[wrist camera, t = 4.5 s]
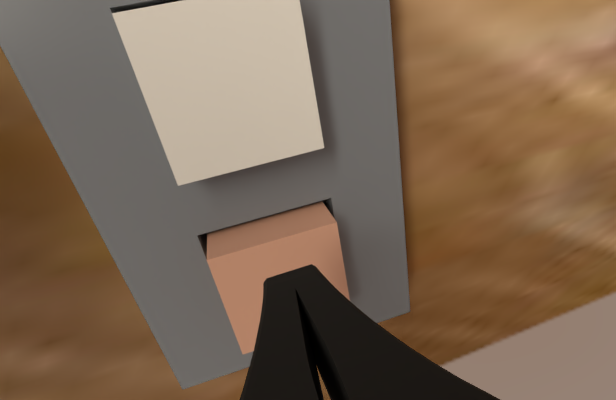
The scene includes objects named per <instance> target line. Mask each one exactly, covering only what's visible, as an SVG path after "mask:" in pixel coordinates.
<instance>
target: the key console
mask: <svg viewBox="0 0 616 400" xmlns="http://www.w3.org/2000/svg"><path fill="white" fill-rule="evenodd" d="M176 1H182V0H0V46H1V48H2V50H3V52H4V54H5V56H6V57H7V59H8V61H9V63H10V65H11V67H12V69H13V71H14V73H15V74H16V76H17V78H18V80H19V82H20V84H21V86H22V88H23V90H24V91H25V93H26V95H27V97H28V99H29V101H30V103H31V105H32V106H33V108H34V110H35V112H36V114H37V116H38V118H39V120H40V122H41V123H42V125H43V127H44V129H45V131H46V133H47V135H48V137H49V139H50V140H51V142H52V144H53V146H54V148H55V150H56V152H57V154H58V156H59V157H60V159H61V161H62V163H63V165H64V167H65V169H66V171H67V172H68V174H69V176H70V178H71V180H72V182H73V184H74V186H75V188H76V189H77V191H78V193H79V195H80V197H81V199H82V201H83V203H84V205H85V206H86V208H87V210H88V212H89V214H90V216H91V218H92V220H93V222H94V223H95V225H96V227H97V229H98V231H99V233H100V235H101V237H102V238H103V240H104V242H105V244H106V246H107V248H108V250H109V252H110V254H111V255H112V257H113V259H114V261H115V263H116V265H117V267H118V269H119V271H120V272H121V274H122V276H123V278H124V280H125V282H126V284H127V286H128V288H129V289H130V291H131V293H132V295H133V297H134V299H135V301H136V303H137V304H138V306H139V308H140V310H141V312H142V314H143V316H144V318H145V320H146V321H147V323H148V325H149V327H150V329H151V331H152V333H153V335H154V337H155V338H156V340H157V342H158V344H159V346H160V348H161V350H162V352H163V353H164V355H165V357H166V359H167V361H168V363H169V365H170V367H171V369H172V370H173V372H174V374H175V376H176V378H177V380H178V382H179V384H180V386H181V387H182V389H186V388H189V387H192V386H194V385H197V384H200V383H203V382H206V381H209V380H212V379H215V378H218V377H221V376H224V375H227V374H230V373H232V372H235V371H238V370H241V369H244V368H247V367H249V366H250V362H251V359H252V355H253V351H252V352H249V353H246V354H242V351H241V349H240V346H239V343H238V341H237V338H236V336H235V333H234V330H233V328H232V325H231V323H230V320H229V317H228V315H227V312H226V310H225V307H224V304H223V302H222V299H221V297H220V294H219V291H218V289H217V286H216V284H215V281H214V278H213V276H212V273H211V271H210V268H209V265H208V263H207V234H208V233H211V232H215V231H218V230H222V229H226V228H229V227H233V226H236V225H240V224H243V223H247V222H250V221H254V220H258V219H261V218H265V217H268V216H272V215H275V214H279V213H282V212H286V211H290V210H293V209H297V208H300V207H304V206H307V205H311V204H314V203H318V202H321V201H322V202H323V203H324V205H325V206H326V207H327V209H328V210H329V212H330V213H331V215H332V216H333V217H334V219H335V220H336V222H337V226H338V232H339V238H340V244H341V250H342V256H343V262H344V268H345V274H346V280H347V286H348V292H349V298H350V302H352V303H353V304H354V305H355V306H356V307H357V308H359V309H360V310H361V311H362V312H363V313H364V314H366V315H367V316H368V317H369V318H371V319H372V320H373V321H374V322H376V323H379V322H381V321H384V320H387V319H390V318H393V317H396V316H399V315H402V314H405V313H408V312H410V301H409V286H408V271H407V256H406V241H405V226H404V211H403V196H402V181H401V166H400V151H399V136H398V121H397V106H396V91H395V76H394V61H393V46H392V31H391V16H390V1H389V0H300V5H301V11H302V17H303V23H304V29H305V35H306V41H307V47H308V53H309V59H310V65H311V71H312V77H313V83H314V89H315V95H316V101H317V107H318V113H319V119H320V125H321V131H322V137H323V143H324V148H323V149H319V150H315V151H311V152H307V153H303V154H299V155H295V156H292V157H288V158H284V159H280V160H276V161H272V162H268V163H265V164H261V165H257V166H253V167H249V168H245V169H241V170H237V171H234V172H230V173H226V174H222V175H218V176H214V177H210V178H207V179H203V180H199V181H195V182H191V183H187V184H183V185H180V186H178V185H177V182H176V179H175V177H174V174H173V172H172V169H171V166H170V164H169V161H168V159H167V156H166V153H165V151H164V148H163V145H162V143H161V140H160V138H159V135H158V132H157V130H156V127H155V125H154V122H153V119H152V117H151V114H150V112H149V109H148V106H147V104H146V101H145V99H144V96H143V93H142V91H141V88H140V86H139V83H138V80H137V78H136V75H135V73H134V70H133V67H132V65H131V62H130V60H129V57H128V54H127V52H126V49H125V47H124V44H123V41H122V39H121V36H120V33H119V31H118V28H117V26H116V23H115V20H114V18H113V15H112V13H116V12H122V11H127V10H133V9H138V8H144V7H149V6H155V5H160V4H165V3H171V2H176Z"/></svg>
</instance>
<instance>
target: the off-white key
mask: <svg viewBox="0 0 616 400" xmlns="http://www.w3.org/2000/svg"><path fill="white" fill-rule="evenodd" d="M112 15H113V18H114V20H115V23H116V26H117V28H118V31H119V33H120V36H121V39H122V41H123V44H124V47H125V49H126V52H127V54H128V57H129V60H130V62H131V65H132V67H133V70H134V73H135V75H136V78H137V80H138V83H139V86H140V88H141V91H142V93H143V96H144V99H145V101H146V104H147V106H148V109H149V112H150V114H151V117H152V119H153V122H154V125H155V127H156V130H157V132H158V135H159V138H160V140H161V143H162V145H163V148H164V151H165V153H166V156H167V159H168V161H169V164H170V166H171V169H172V172H173V174H174V177H175V179H176V182H177V185H178V186H180V185H183V184H187V183H191V182H195V181H199V180H203V179H207V178H210V177H214V176H218V175H222V174H226V173H230V172H234V171H237V170H241V169H245V168H249V167H253V166H257V165H261V164H265V163H268V162H272V161H276V160H280V159H284V158H288V157H292V156H295V155H299V154H303V153H307V152H311V151H315V150H319V149H323V148H324V143H323V137H322V131H321V125H320V119H319V113H318V107H317V101H316V95H315V89H314V83H313V77H312V71H311V65H310V59H309V53H308V47H307V41H306V35H305V29H304V23H303V17H302V11H301V5H300V0H182V1H176V2H171V3H165V4H160V5H155V6H149V7H144V8H138V9H133V10H127V11H122V12H116V13H112Z"/></svg>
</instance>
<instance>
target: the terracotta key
mask: <svg viewBox="0 0 616 400" xmlns="http://www.w3.org/2000/svg"><path fill="white" fill-rule="evenodd" d="M207 263H208V265H209V268H210V271H211V273H212V276H213V278H214V281H215V284H216V286H217V289H218V291H219V294H220V297H221V299H222V302H223V304H224V307H225V310H226V312H227V315H228V317H229V320H230V323H231V325H232V328H233V330H234V333H235V336H236V338H237V341H238V343H239V346H240V349H241V351H242V354H246V353H249V352H252V351H254V347H255V343H256V338H257V333H258V328H259V323H260V317H261V310H262V303H263V283H264V281H265V280H266V278H269V277H272V276H276V275H279V274H282V273H285V272H288V271H291V270H295V269H298V268H301V267H304V266H307V265H310V264H312V265H314V266H316V267H317V268H318V269H319V271H320V272H321V273H322V274H323V275H324V276H325V277H326V279H327V280H328V281H329V282H330V283H331V284H332V285H333V286H334V287H335V288H336V289H337V290H338V291H339V292H340V293H342V294H343V295H344V296H345V297H346V298H347V299H348V300H349V301H350V298H349V292H348V286H347V280H346V274H345V268H344V262H343V256H342V250H341V244H340V238H339V232H338V226H337V222H336V220H335V219H334V217H333V216H332V215H331V213H330V212H329V210H328V209H327V207H326V206H325V205H324V203H323V202H322V201H321V202H318V203H314V204H311V205H307V206H304V207H300V208H297V209H293V210H290V211H286V212H282V213H279V214H275V215H272V216H268V217H265V218H261V219H258V220H254V221H250V222H247V223H243V224H240V225H236V226H233V227H229V228H226V229H222V230H218V231H215V232H211V233H208V234H207Z"/></svg>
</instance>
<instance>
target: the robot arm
mask: <svg viewBox="0 0 616 400" xmlns="http://www.w3.org/2000/svg"><path fill="white" fill-rule="evenodd" d="M316 365H317V367H316ZM317 368H318V370H319V372H320V375H321V377H322V380H323V382H324V384H325V387H326V389H327V391H328V394H329V396H330V399H331V400H500V399H498V398H496V397H494V396H492V395H491V394H488V393H487V392H485V391H483V390H481V389H479V388H477V387H475V386H474V385H472V384H470V383H468V382H466V381H464V380H462V379H460V378H459V377H457V376H455V375H453V374H452V373H450V372H448V371H447V370H445V369H443V368H442V367H440V366H438V365H437V364H435V363H433V362H432V361H430V360H429V359H427V358H426V357H424V356H422V355H421V354H419V353H418V352H416V351H415V350H413V349H412V348H410V347H409V346H407V345H406V344H404V343H403V342H401V341H400V340H399V339H397V338H396V337H394V336H393V335H392V334H390V333H389V332H388V331H386V330H385V329H384V328H382V327H381V326H380V325H378V324H377V323H376V322H374V321H373V320H372V319H371V318H369V317H368V316H367V315H366V314H364V313H363V312H362V311H361V310H360V309H359V308H357V307H356V306H355V305H354V304H353V303H352V302H350V301H349V300H348V299H347V298H346V297H345V296H344V295H343V294H342V293H340V292H339V291H338V290H337V289H336V288H335V287H334V286H333V285H332V284H331V283H330V282H329V281H328V280H327V279H326V277H325V276H324V275H323V274H322V273H321V272H320V271H319V269H318V268H317V267H316V266H314V265H312V264H310V265H307V266H304V267H301V268H298V269H295V270H291V271H288V272H285V273H282V274H279V275H276V276H272V277H269V278H266V280H265V281H264V283H263V303H262V310H261V317H260V323H259V328H258V333H257V338H256V343H255V347H254V351H253V355H252V359H251V362H250V366H249V370H248V374H247V377H246V381H245V384H244V388H243V391H242V394H241V397H240V400H324V399H323V394H322V390H321V385H320V380H319V376H318V371H317Z"/></svg>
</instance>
